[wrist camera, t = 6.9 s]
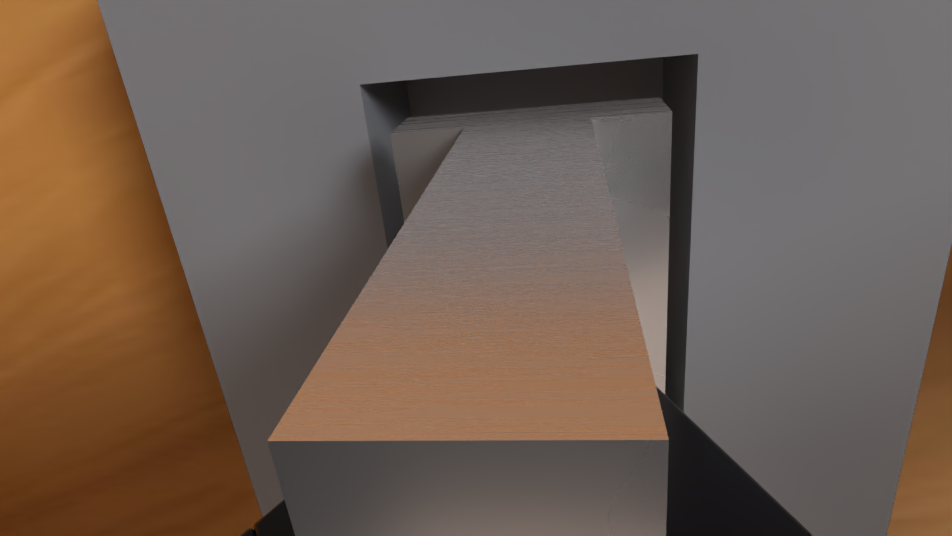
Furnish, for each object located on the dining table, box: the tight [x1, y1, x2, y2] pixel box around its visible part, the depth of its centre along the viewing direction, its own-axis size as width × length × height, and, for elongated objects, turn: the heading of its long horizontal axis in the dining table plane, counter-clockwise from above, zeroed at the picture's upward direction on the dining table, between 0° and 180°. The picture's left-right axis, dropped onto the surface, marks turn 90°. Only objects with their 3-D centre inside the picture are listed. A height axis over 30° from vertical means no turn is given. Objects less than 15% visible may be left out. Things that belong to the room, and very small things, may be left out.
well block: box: [97, 0, 952, 536], centre depth 14 cm, size 16×16×4 cm
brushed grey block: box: [267, 97, 672, 536], centre depth 8 cm, size 4×6×8 cm, turn 6°
